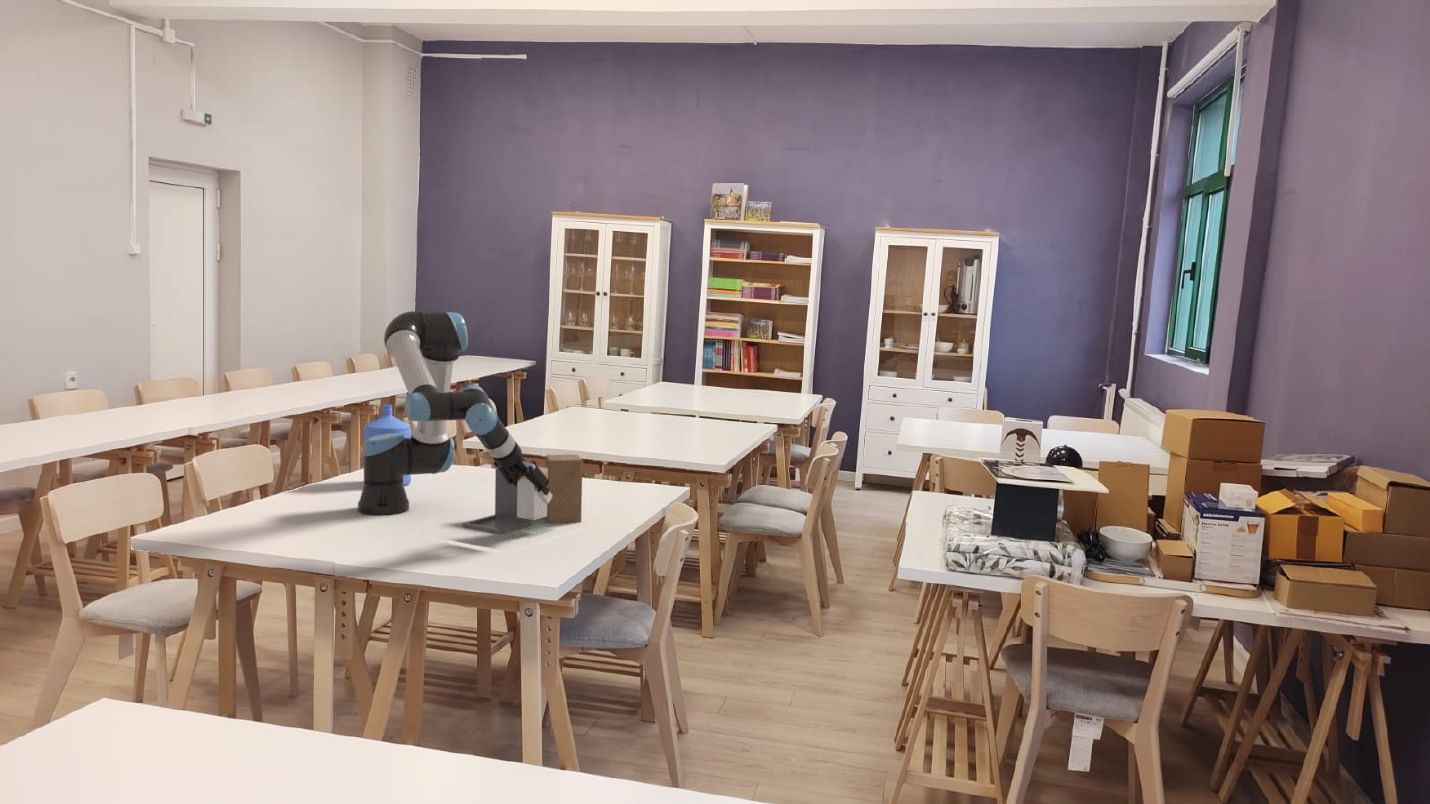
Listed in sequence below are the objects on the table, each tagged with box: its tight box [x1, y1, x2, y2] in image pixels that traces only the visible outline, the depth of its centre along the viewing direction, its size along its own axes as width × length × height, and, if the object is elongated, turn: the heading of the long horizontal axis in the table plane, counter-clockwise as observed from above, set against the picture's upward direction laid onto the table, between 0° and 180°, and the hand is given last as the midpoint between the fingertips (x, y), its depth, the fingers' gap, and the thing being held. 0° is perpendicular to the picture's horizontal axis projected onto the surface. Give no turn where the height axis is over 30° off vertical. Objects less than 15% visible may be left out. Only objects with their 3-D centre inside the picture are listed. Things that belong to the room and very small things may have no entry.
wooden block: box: [544, 454, 583, 524], centre depth 300 cm, size 10×10×20 cm
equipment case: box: [462, 467, 535, 535], centre depth 289 cm, size 14×15×16 cm
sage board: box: [506, 525, 556, 539], centre depth 284 cm, size 8×12×1 cm, turn 152°
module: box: [517, 466, 548, 521], centre depth 282 cm, size 6×6×14 cm
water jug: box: [363, 403, 412, 487], centre depth 346 cm, size 16×16×28 cm
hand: (540, 497), depth 286 cm, fingers closed on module, 6 cm apart
